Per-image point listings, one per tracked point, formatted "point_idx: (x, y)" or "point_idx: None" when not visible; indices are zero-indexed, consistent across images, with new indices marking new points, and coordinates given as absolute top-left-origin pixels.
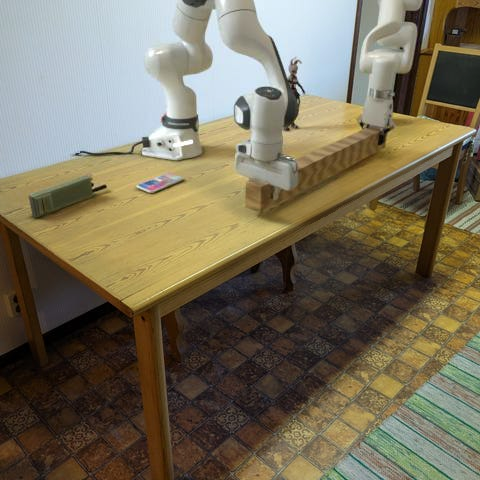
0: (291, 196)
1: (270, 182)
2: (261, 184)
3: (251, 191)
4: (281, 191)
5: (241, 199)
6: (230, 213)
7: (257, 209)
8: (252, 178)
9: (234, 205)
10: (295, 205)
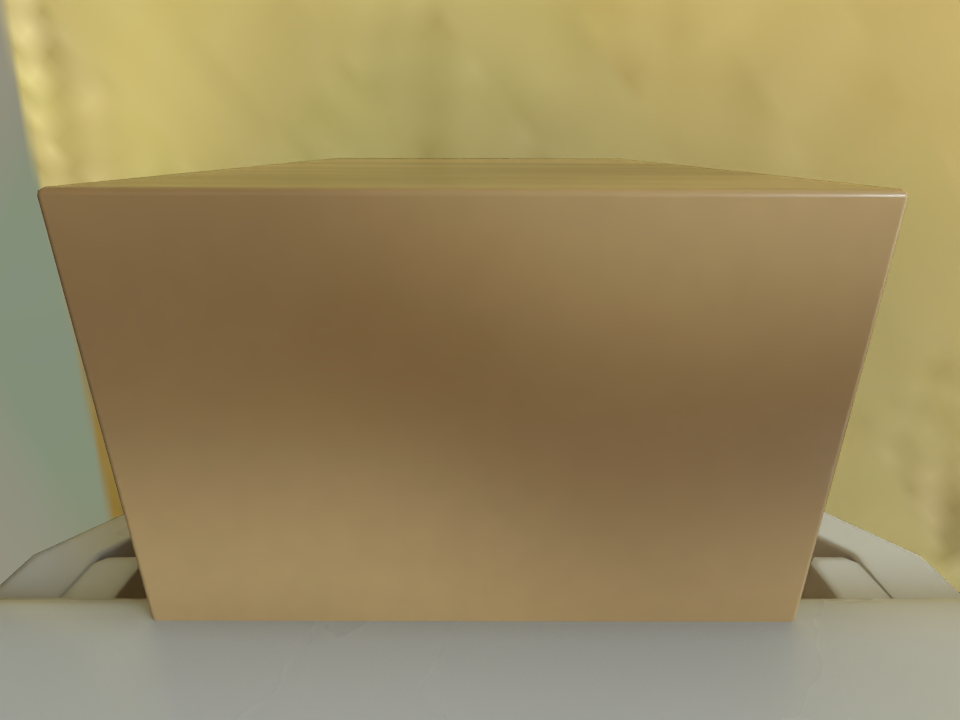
0: None
1: (62, 655)
2: (237, 396)
3: (536, 172)
4: None
5: (846, 436)
6: (772, 65)
7: (380, 158)
8: (837, 600)
9: None
10: None
